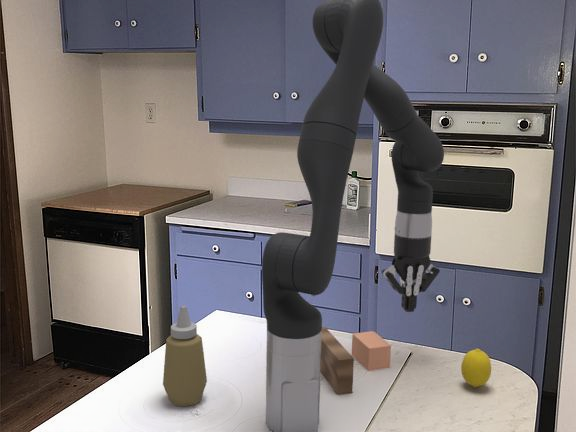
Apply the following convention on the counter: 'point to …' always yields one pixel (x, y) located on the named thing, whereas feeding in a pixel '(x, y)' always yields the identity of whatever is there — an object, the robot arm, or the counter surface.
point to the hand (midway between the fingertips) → (408, 310)
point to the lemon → (476, 368)
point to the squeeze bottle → (184, 362)
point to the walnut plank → (336, 363)
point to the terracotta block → (371, 350)
